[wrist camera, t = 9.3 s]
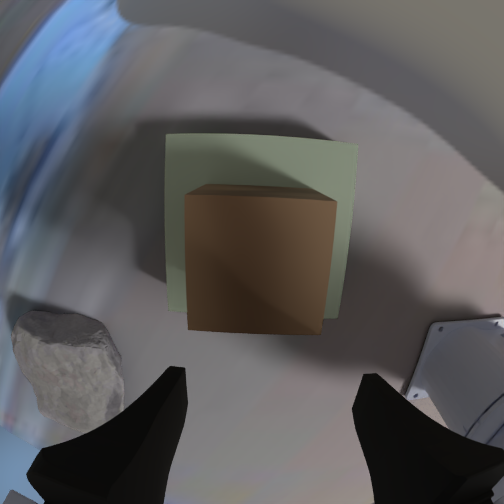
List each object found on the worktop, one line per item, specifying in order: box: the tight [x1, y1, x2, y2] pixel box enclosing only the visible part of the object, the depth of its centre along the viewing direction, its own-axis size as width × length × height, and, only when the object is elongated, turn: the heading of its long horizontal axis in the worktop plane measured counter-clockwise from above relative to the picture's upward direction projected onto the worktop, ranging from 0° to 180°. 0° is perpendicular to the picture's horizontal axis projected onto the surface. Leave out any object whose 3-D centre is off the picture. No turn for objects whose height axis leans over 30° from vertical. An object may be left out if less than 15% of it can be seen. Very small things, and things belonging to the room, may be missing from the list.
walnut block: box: [184, 184, 337, 335], centre depth 14 cm, size 6×6×5 cm
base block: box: [164, 133, 358, 319], centre depth 18 cm, size 10×10×3 cm
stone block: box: [11, 310, 124, 433], centre depth 22 cm, size 12×5×10 cm
